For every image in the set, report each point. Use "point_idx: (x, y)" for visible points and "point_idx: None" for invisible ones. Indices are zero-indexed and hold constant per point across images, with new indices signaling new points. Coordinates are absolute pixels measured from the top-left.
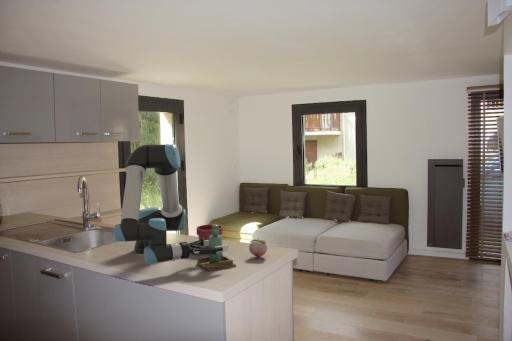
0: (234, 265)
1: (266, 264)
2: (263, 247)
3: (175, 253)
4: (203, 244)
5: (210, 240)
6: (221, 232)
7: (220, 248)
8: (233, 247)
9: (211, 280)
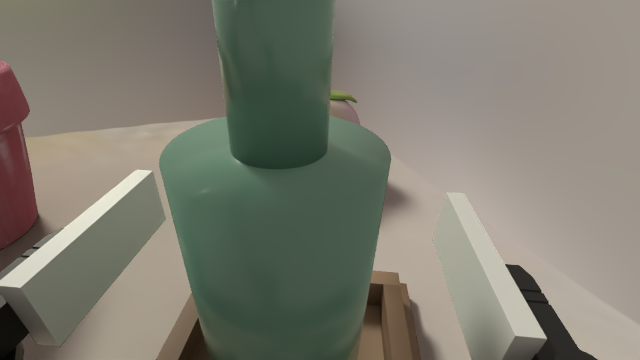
0: (406, 296)
1: (430, 192)
2: (359, 123)
3: None
4: (25, 330)
5: (299, 260)
6: (25, 100)
7: (542, 298)
8: (104, 162)
9: None
